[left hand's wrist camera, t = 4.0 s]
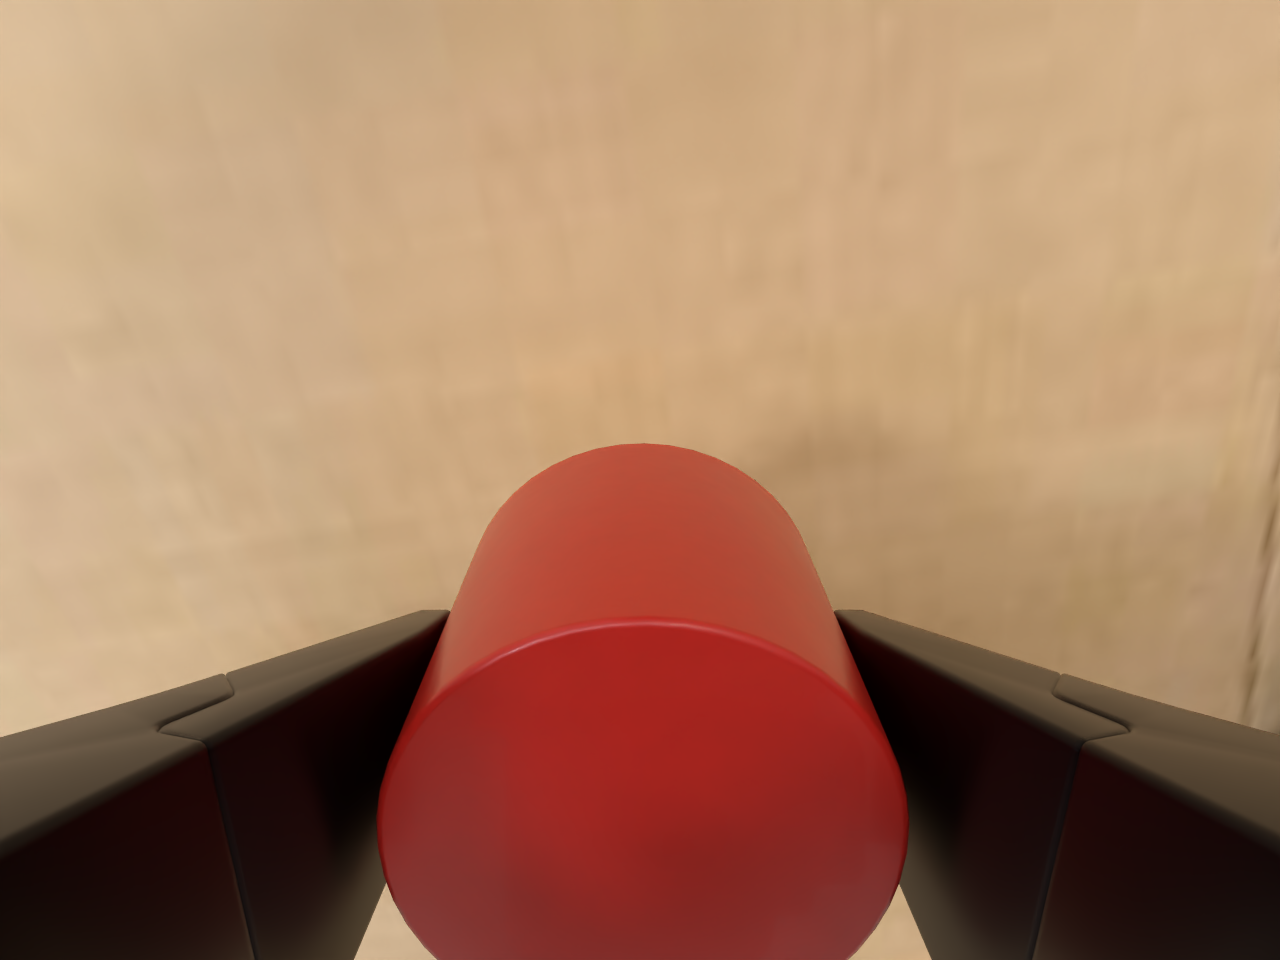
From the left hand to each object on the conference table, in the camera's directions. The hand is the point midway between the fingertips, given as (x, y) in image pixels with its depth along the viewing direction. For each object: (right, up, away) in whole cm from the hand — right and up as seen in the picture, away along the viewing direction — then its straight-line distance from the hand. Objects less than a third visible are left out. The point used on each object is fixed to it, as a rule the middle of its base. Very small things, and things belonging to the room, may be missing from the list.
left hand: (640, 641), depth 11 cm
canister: (0, 0, +1) cm, 1 cm away
